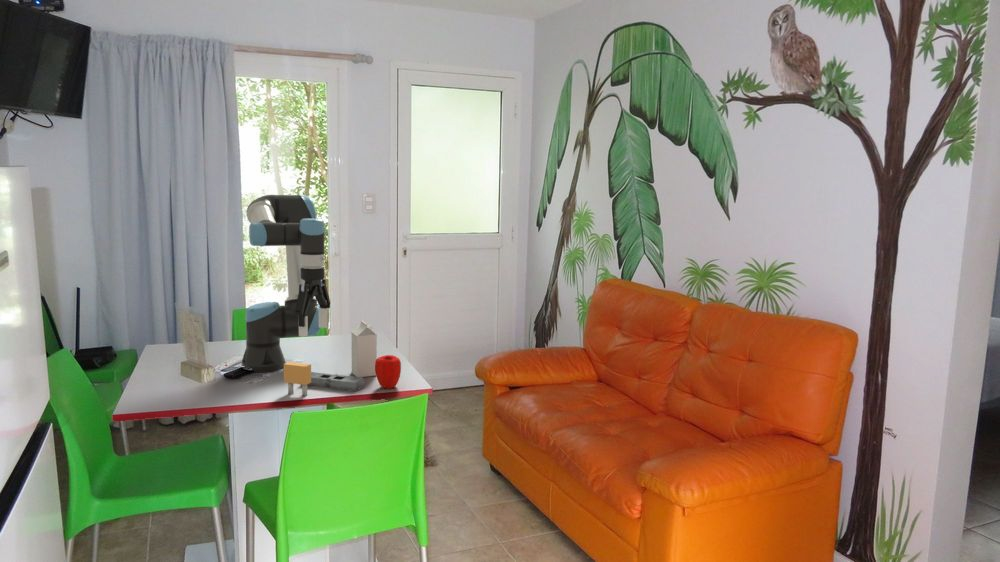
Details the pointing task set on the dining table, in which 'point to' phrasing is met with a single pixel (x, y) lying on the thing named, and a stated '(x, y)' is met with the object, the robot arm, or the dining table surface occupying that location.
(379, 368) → the apple
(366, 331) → the milk carton
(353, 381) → the grey flat block
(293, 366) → the clip
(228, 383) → the dining table surface
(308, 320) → the robot arm
